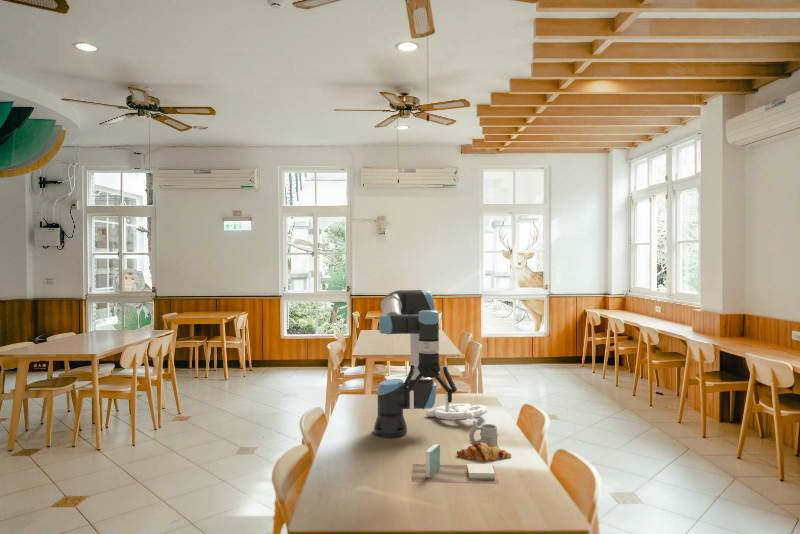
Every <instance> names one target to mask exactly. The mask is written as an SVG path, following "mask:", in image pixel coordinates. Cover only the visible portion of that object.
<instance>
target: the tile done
mask: <svg viewBox="0 0 800 534" xmlns="http://www.w3.org/2000/svg"><path fill="white" fill-rule="evenodd" d="M466 465H467V471H468V476H469V479H495V472H496V471H495V472H494V469H495V468H494V469H493V466H494V465H493V464H492V463H467V464H466Z"/></svg>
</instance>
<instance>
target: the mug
mask: <svg viewBox="0 0 800 534" xmlns="http://www.w3.org/2000/svg"><path fill="white" fill-rule="evenodd" d="M472 422H473V424H472V427H471V430H470V433H468V434H469V444H470V445H471V446H473V445H474V444H475V443H476V442H477V443H478V442H482V443H486V444H487V445H488V446H489V447H490V446H496V447H498V448H499V447H500V446H499V444H498V436H499V434H498V428H497V425H495V424H491V423H484V424H482V425H481V426H478V423H477V422H476V420H473V421H472ZM478 430H479V431H480V432H479V436H480V438H479V439H475V433H476V432H477V431H478ZM499 449H500V448H499Z"/></svg>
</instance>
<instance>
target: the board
mask: <svg viewBox="0 0 800 534" xmlns="http://www.w3.org/2000/svg"><path fill="white" fill-rule="evenodd" d="M492 466H493V469H494V472H495V479H469V476H468V471H467V464H440V470H439V471H438V472H437V473H436V474H435V475H433V476H432V477H431V478H430V477H426V463H423V464H421V463H418V464H415V463H414V464H412V471H411V472H412V473H411V482H412V483H441V484H442V483H446V484H447V483H448V484H449V483H452V484H453V483H454V484H494V485H499V484H500V482H499V479H498V475H497V473H496V469H495V465H492Z"/></svg>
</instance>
